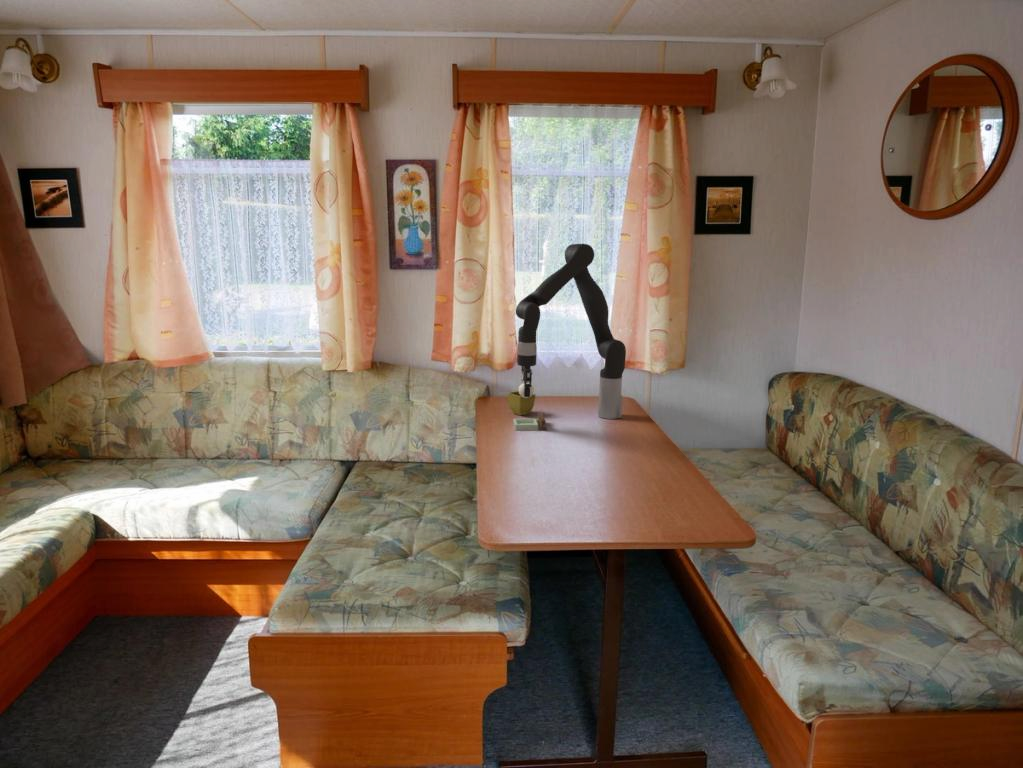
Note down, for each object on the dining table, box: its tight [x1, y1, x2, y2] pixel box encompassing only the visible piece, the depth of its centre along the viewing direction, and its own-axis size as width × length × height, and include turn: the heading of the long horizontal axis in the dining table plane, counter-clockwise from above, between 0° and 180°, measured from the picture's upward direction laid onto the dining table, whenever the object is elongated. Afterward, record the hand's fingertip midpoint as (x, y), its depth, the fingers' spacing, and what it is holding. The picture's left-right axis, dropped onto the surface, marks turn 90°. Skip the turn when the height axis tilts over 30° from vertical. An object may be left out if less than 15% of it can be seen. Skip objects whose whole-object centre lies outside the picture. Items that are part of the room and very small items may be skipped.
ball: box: [518, 383, 534, 398], centre depth 269 cm, size 6×6×6 cm
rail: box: [536, 412, 548, 432], centre depth 273 cm, size 3×12×4 cm, turn 5°
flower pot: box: [507, 390, 536, 416], centre depth 291 cm, size 9×9×9 cm
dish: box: [512, 418, 539, 431], centre depth 272 cm, size 9×9×2 cm
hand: (526, 394), depth 270 cm, fingers closed on ball, 6 cm apart
